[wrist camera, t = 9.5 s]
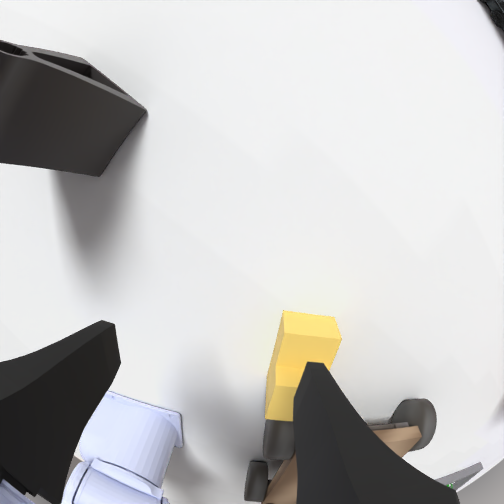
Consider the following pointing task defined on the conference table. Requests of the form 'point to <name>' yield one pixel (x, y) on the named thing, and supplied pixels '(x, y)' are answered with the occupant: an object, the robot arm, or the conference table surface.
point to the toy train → (496, 11)
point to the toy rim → (461, 476)
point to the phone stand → (60, 111)
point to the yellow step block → (297, 358)
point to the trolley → (283, 448)
